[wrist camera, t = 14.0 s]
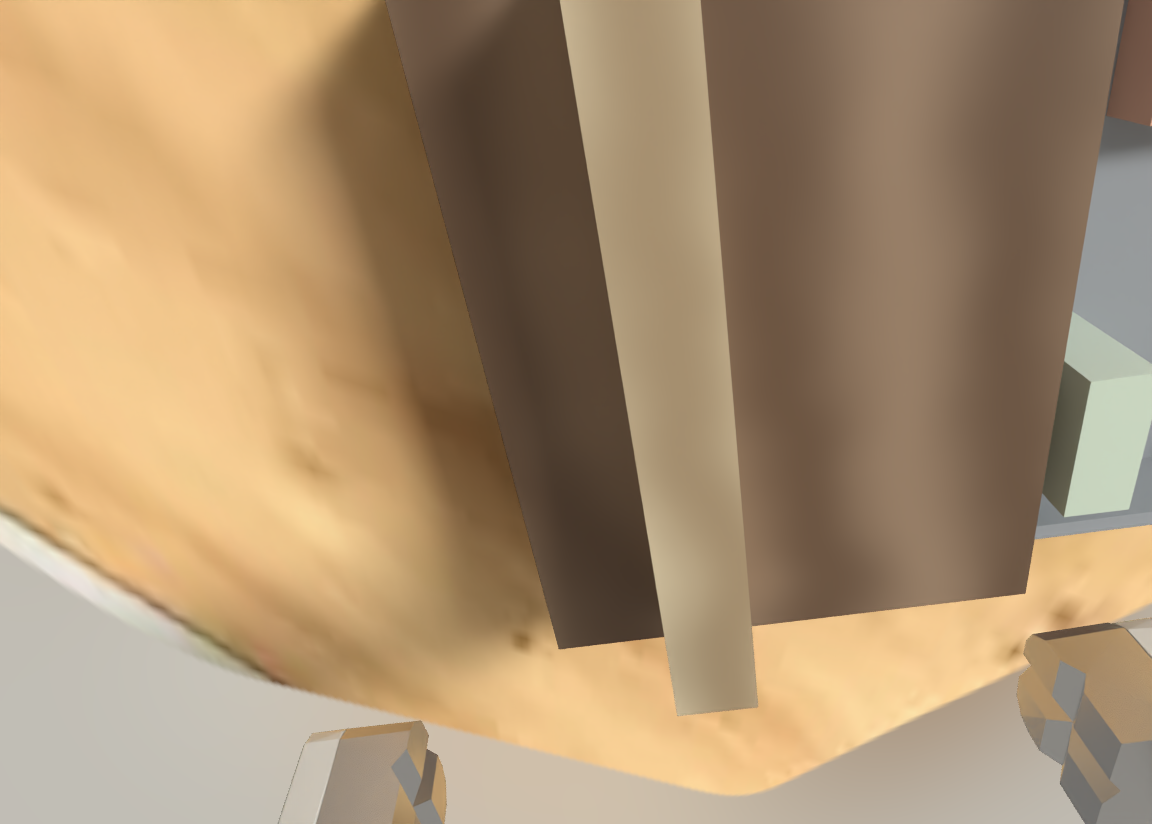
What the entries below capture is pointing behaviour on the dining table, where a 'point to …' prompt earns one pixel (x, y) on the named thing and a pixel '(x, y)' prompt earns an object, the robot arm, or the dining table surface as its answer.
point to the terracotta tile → (1134, 67)
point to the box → (1117, 287)
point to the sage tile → (1098, 424)
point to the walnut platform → (790, 286)
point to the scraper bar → (669, 324)
